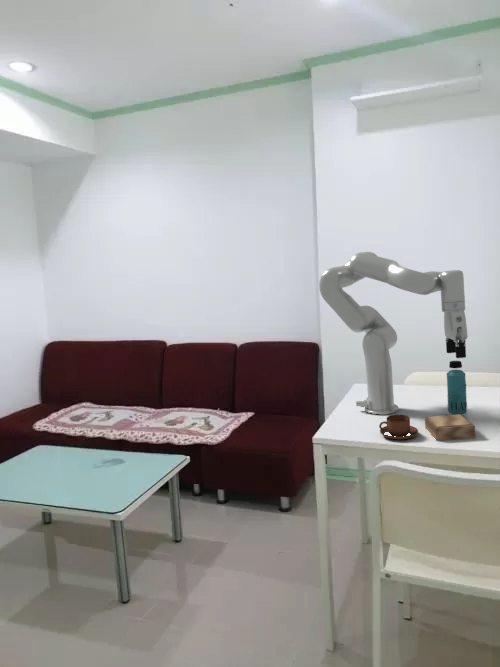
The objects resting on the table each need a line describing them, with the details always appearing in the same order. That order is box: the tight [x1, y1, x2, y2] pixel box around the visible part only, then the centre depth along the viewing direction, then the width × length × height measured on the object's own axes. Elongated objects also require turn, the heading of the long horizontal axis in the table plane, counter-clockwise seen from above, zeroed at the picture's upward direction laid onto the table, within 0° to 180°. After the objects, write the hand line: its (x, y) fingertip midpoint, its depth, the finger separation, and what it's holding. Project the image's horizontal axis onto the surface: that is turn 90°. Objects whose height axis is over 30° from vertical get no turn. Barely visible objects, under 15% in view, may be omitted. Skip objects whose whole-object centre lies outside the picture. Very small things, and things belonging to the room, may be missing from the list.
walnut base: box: [424, 414, 476, 441], centre depth 166 cm, size 12×12×4 cm
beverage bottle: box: [446, 360, 468, 416], centre depth 181 cm, size 6×7×20 cm
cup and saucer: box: [378, 414, 419, 440], centre depth 169 cm, size 12×12×6 cm
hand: (456, 355), depth 179 cm, fingers open, 9 cm apart
